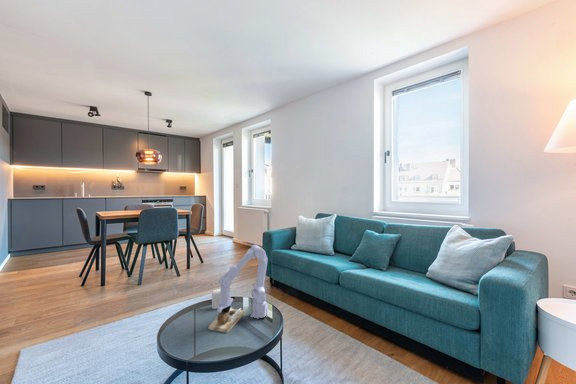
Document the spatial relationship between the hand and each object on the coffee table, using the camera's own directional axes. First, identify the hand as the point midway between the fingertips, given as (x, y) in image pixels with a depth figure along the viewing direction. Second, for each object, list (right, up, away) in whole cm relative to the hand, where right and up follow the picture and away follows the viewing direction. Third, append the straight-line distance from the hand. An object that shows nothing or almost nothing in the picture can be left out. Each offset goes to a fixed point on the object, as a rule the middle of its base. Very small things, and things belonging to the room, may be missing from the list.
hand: (225, 318), depth 158 cm
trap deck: (+1, -3, +2) cm, 4 cm away
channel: (+2, -1, +6) cm, 6 cm away
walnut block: (-1, -1, -3) cm, 3 cm away
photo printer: (-8, -2, +20) cm, 22 cm away
